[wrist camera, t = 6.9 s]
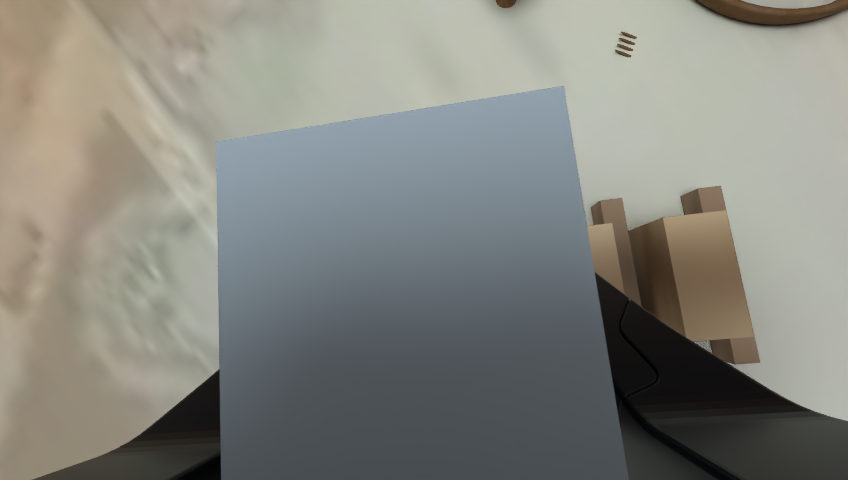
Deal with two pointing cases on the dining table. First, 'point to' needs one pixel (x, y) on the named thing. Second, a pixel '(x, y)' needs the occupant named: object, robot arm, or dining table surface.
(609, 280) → the oak offcut
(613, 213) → the rack
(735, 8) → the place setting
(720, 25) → the dining table surface
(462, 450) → the batten
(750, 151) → the dining table surface
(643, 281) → the oak offcut
